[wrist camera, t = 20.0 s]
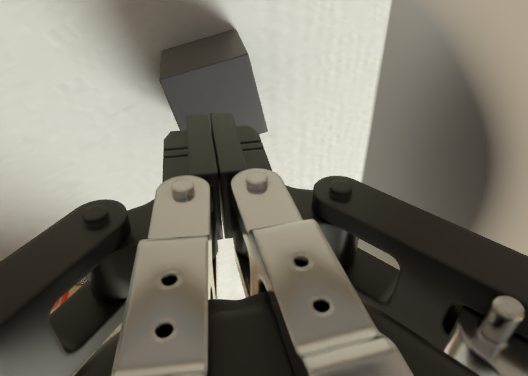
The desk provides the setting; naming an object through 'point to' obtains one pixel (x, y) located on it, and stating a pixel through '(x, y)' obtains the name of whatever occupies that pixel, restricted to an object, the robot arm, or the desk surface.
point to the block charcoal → (212, 80)
